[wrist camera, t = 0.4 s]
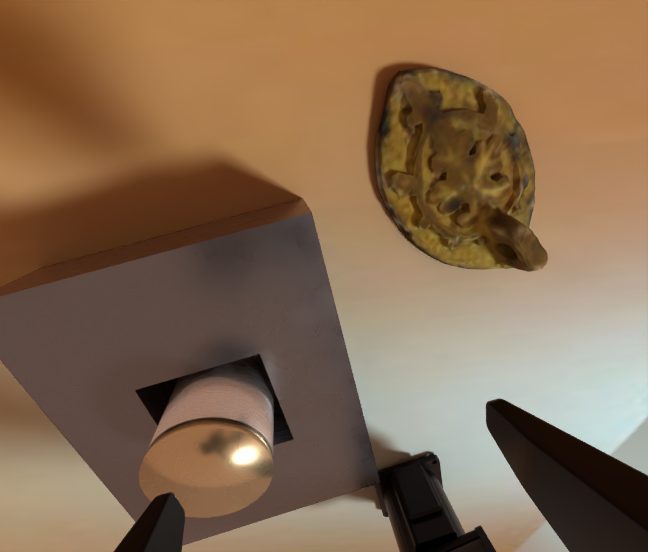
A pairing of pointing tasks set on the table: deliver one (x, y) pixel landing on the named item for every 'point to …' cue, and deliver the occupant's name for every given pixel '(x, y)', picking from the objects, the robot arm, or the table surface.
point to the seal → (457, 171)
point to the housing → (194, 353)
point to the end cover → (214, 440)
